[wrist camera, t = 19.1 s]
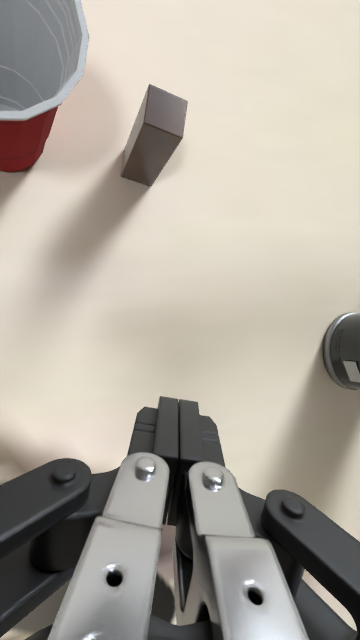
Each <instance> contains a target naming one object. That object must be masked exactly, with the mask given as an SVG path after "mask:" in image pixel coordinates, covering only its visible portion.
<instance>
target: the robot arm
mask: <svg viewBox="0 0 360 640" xmlns="http://www.w3.org/2000/svg"><path fill="white" fill-rule="evenodd" d="M323 351H324V361H325V365H326V368H327V370H328V372H329V374H330V376H331V377H332V379H333V380H334V381H335V382H336V383H337V384H338V385H340V386H342V387H344V388H347V389H352V390H360V313H347V314H343V315H341V316H339V317H338V318H336V319H335V320H334V321H333V322H332V324H331V325H330V327H329V329H328V331H327V333H326V336H325V340H324V349H323ZM167 512H168V520H167V525H173V526H176V536H175V541H174V546H173V568H174V585H175V601H176V618H177V625H173V624H171V623H169V622H166V621H164V620H162V619H160V618H157V617H155V616H153V615H151V608H152V600H153V593H154V585H155V578H156V572H157V565H158V557H159V550H160V543H161V536H162V524H165V523H166V517H167ZM305 569H306V570H307V571H308V572H309V573H310V574H311V575H312V576H313V577H314V578H315V579H316V580H317V581H318V582H319V583H320V584H321V585H322V586H323V587H324V588H325V589H327V590H328V591H329V592H330V593H331V594H332V595H333V596H334V597H335V598H336V599H337V600H338V601H339V602H340V603H341V604H342V605H343V606H344V607H345V608H346V609H347V610H348V611H349V613H350V614H351V616H352V617H353V619H354V621H355V624H356V627H357V631H355V630H353V629H352V628H351V627H350V626H348V625H347V624H346V623H345V622H344V621H343V620H342V619H341V618H340V617H339V616H338V615H337V614H336V613H335V612H334V611H333V610H332V609H331V608H330V607H329V606H328V605H327V604H326V603H325V602H324V601H323V600H322V599H321V598H320V597H319V596H318V595H317V594H316V593H315V592H314V591H313V590H312V589H311V588H310V587H309V586H308V585H307V584H306V583H305V582H304V581H303V580H302V576H303V573H304V570H305ZM70 578H72V579H71V581H70V584H69V586H68V589H67V591H66V594H65V596H64V599H63V601H62V604H61V606H60V609H59V612H58V614H57V617H56V619H55V622H54V624H52V625H50V626H48V627H46V628H44V629H42V630H40V631H38V632H36V633H35V634H33V635H31V636H30V637H28V638H27V639H25V640H360V542H359V541H358V540H356V539H355V538H354V537H353V536H351V535H350V534H349V533H347V532H346V531H345V530H344V529H342V528H341V527H340V526H338V525H337V524H336V523H335V522H333V521H332V520H331V519H329V518H328V517H327V516H326V515H324V514H323V513H322V512H321V511H319V510H318V509H317V508H315V507H314V506H313V505H312V504H310V503H309V502H308V501H306V500H305V499H304V498H302V497H301V496H299V495H297V494H295V493H293V492H290V491H286V490H273V491H271V492H270V493H268V495H267V497H266V500H264V499H261V498H259V497H256V496H254V495H251V494H249V493H247V492H245V491H243V490H241V489H240V488H239V487H238V485H237V482H236V479H235V477H234V476H233V474H232V473H231V472H230V471H229V470H228V469H226V468H225V463H224V458H223V454H222V449H221V444H220V440H219V436H218V431H217V426H216V424H215V423H214V422H213V420H212V419H211V418H210V417H208V416H201V415H199V408H198V402H194V401H188V400H181V399H179V402H178V399H175V398H168V397H162V396H160V398H159V404H158V409H155V408H149V407H144V408H143V409H141V410H140V411H139V412H138V413H137V417H136V421H135V425H134V430H133V433H132V438H131V442H130V446H129V450H128V454H127V457H126V458H125V459H124V460H123V461H122V463H121V466H120V467H118V468H117V469H115V470H112V471H109V472H105V473H98V474H91V470H90V468H89V467H88V466H87V465H86V464H85V463H84V462H82V461H80V460H76V459H71V458H63V459H57V460H53V461H51V462H49V463H46V464H44V465H42V466H40V467H38V468H36V469H34V470H32V471H30V472H27V473H25V474H23V475H21V476H19V477H17V478H15V479H13V480H11V481H8V482H6V483H4V484H2V485H0V637H2V636H3V635H4V634H5V633H6V632H8V631H9V630H10V629H11V628H12V627H14V626H15V625H16V624H17V623H18V622H19V621H21V620H22V619H23V618H24V617H25V616H27V615H28V614H29V613H30V612H31V611H33V610H34V609H35V608H36V607H37V606H38V605H40V604H41V603H42V602H43V601H45V600H46V599H47V598H48V597H49V596H50V595H52V594H53V593H54V592H55V591H56V590H58V589H59V588H60V587H61V586H62V585H64V584H65V583H66V582H67V581H68V580H70Z"/></svg>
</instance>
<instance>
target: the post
mask: <svg viewBox="0 0 360 640" xmlns="http://www.w3.org/2000/svg"><path fill="white" fill-rule="evenodd" d="M186 110H187V101H186V100H184V99H182V98H179V97H177V96H175V95H173V94H171V93H168V92H166V91H164V90H162V89H159V88H157V87H155V86H153V85H151V84H149V86H148V89H147V91H146V94H145V97H144V99H143V102H142V104H141V107H140V110H139V112H138V115H137V118H136V120H135V123H134V125H133V128H132V131H131V133H130V136H129V139H128V141H127V144H126V147H125V152H124V158H123V165H122V171H121V177H124V178H127V179H130V180H133V181H136V182H139V183H142V184H145V185H148V186H152V184H153V183H154V181H155V180H156V178H157V177H158V175H159V173H160V172H161V170H162V169H163V167H164V166H165V164H166V163H167V161H168V160H169V158H170V157H171V155H172V154H173V152H174V151H175V149H176V147H177V146H178V144H179V143H180V141H181V140H182V138H183V132H184V124H185V117H186Z"/></svg>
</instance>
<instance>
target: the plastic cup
mask: <svg viewBox="0 0 360 640" xmlns="http://www.w3.org/2000/svg"><path fill="white" fill-rule="evenodd" d="M88 42H89V34H88V30H87V26H86V21H85V17H84V12H83V8H82V4H81V0H0V170H1V171H5V172H13V171H22V170H24V169H26V168H28V167H30V166H32V165H33V164H34V163H35V162H36V160H37V159H38V158H39V157H40V155H41V154H42V153H43V149H44V145H45V141H46V139H47V138H48V136H49V133H50V130H51V127H52V124H53V120H54V117H55V114H56V111H57V108H58V106H60V105H61V103H62V102H63V101H64V99H65V98H66V97H67V95H68V94H69V93H70V91H71V90H72V89H73V87H74V86H75V85H76V84H77V82H78V81H79V80H80V78H81V77H82V76H83V73H84V67H85V60H86V54H87V48H88Z"/></svg>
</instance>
